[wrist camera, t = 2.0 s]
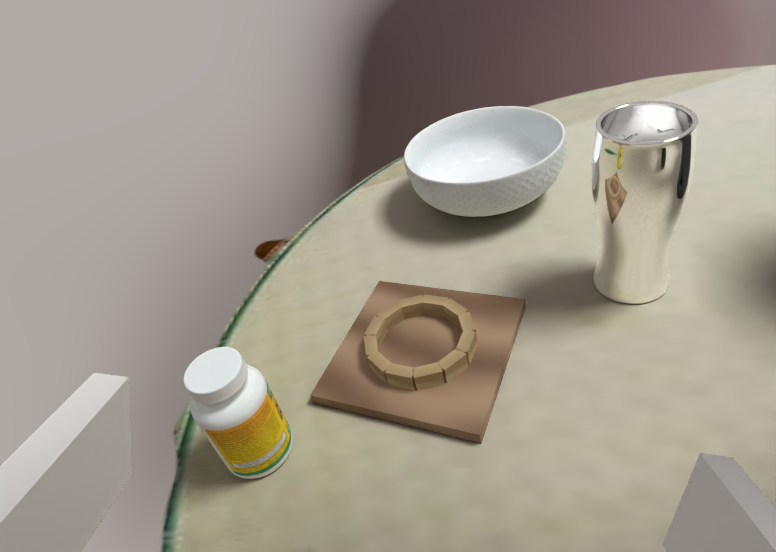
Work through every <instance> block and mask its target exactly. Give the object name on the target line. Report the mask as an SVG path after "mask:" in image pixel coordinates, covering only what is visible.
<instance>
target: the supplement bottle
mask: <svg viewBox="0 0 776 552" xmlns="http://www.w3.org/2000/svg"><path fill="white" fill-rule="evenodd" d="M184 384H185V387H186V389H187V390H188V392H189V394H190V396H191V403H190V409H191V414H192V416H193V418H194V420H195V422H196V423H197V425H198V426H199V428H200V429H201V430H202V432H203V433H204V435H205V436H206V438H207V439H208V440H209V442H210V443H211V445H212V446H213V447H214V449H215V450H216V452H217V453H218V455H219V456H220V458H221V459H222V461H223V462H224V464H225V465H226V466H227V468H228V469H229V470H230V471H231V472H232V473H233V474H234V475H236V476H238V477H240V478H246V479H252V478H260V477H263V476H266V475H268V474H270V473H272V472H274V471H275V470H276V469H277V468H279V467H280V466H281V465H282V464H283V462H284V461H285V460H286V458H287V457H288V455H289V453H290V451H291V448H292V443H293V436H292V431H291V428H290V426H289V424H288V422H287V421H286V419H285V417H284V415H283V413H282V411H281V409H280V407H279V405H278V403H277V402H276V400H275V398H274V396H273V394H272V392H271V390H270V388H269V386H268V384H267V382H266V380H265V378H264V377H263V375H262V374H261V373H260V371H258V370H257V369H256V368H254V367H252V366H250V365H247V364H246V362H245V361H244V360H243V358H242V356H241V355H240V353H239V352H238V351H237V350H235V349H233V348H230V347H218V348H214V349H211V350H208V351H206V352H205V353H203V354H201V355H200V356H199V357H197V358H196V359H195V360H194V361H193V362H192V363H191V364H190V365H189V367H188V368H187V370H186V372H185V375H184Z"/></svg>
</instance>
